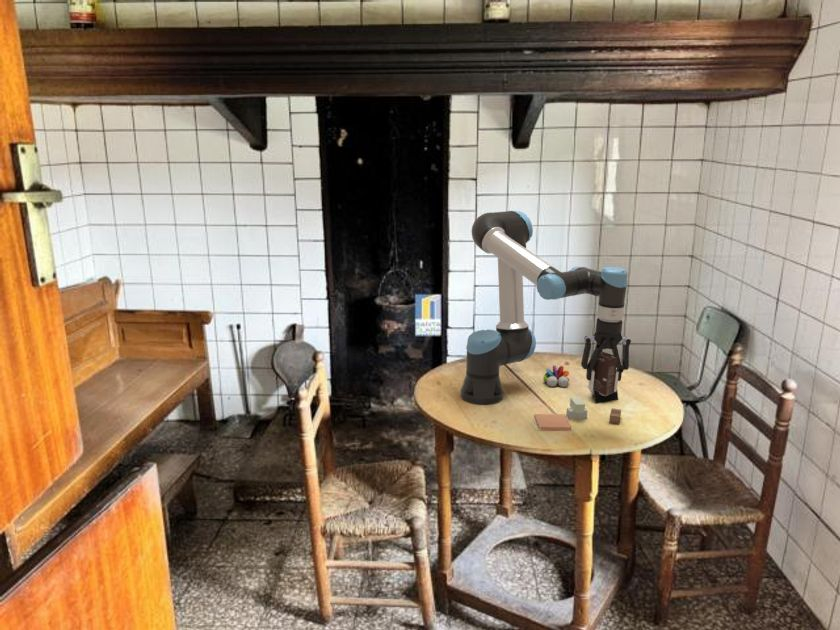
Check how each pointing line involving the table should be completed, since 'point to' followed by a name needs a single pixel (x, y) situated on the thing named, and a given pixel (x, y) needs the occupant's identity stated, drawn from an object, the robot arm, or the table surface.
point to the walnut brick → (615, 416)
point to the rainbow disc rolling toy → (556, 377)
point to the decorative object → (604, 397)
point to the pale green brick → (577, 405)
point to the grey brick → (576, 414)
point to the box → (605, 373)
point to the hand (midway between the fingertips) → (602, 389)
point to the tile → (552, 422)
